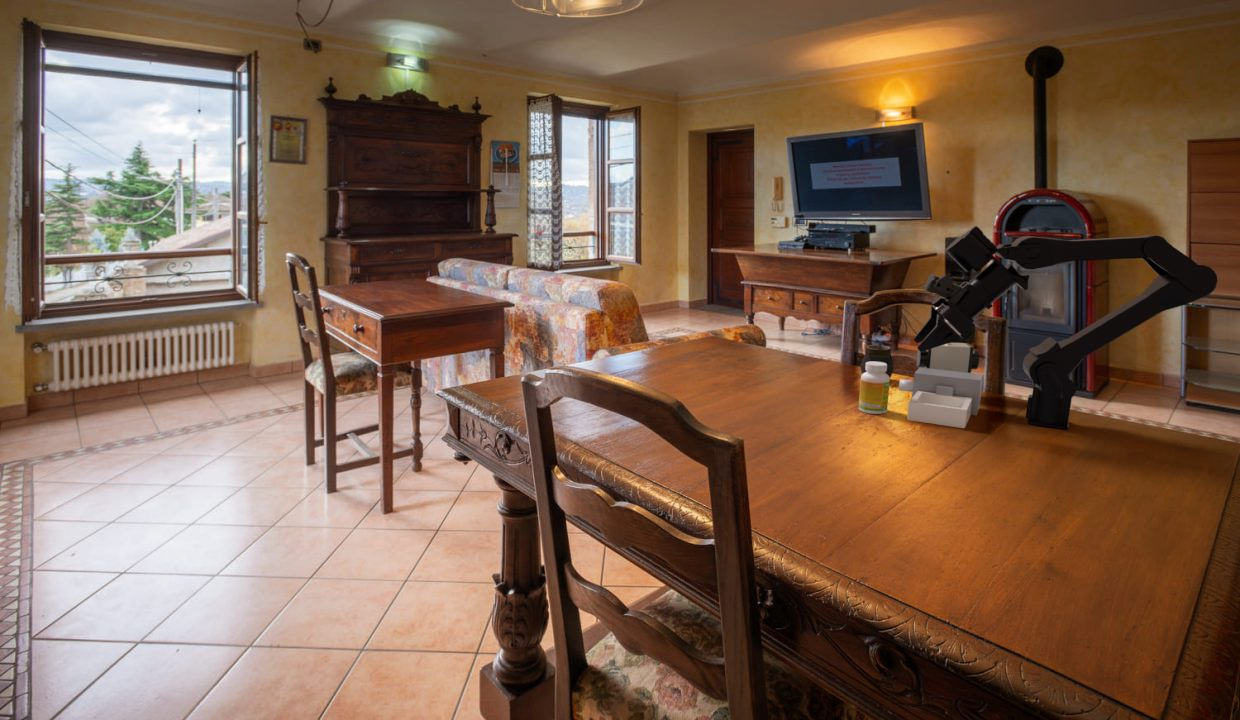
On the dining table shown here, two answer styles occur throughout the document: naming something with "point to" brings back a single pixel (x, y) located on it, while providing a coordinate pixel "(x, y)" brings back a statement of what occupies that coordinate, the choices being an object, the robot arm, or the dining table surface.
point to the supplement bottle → (874, 388)
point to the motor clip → (943, 396)
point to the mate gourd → (878, 357)
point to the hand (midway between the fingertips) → (916, 345)
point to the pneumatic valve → (950, 358)
